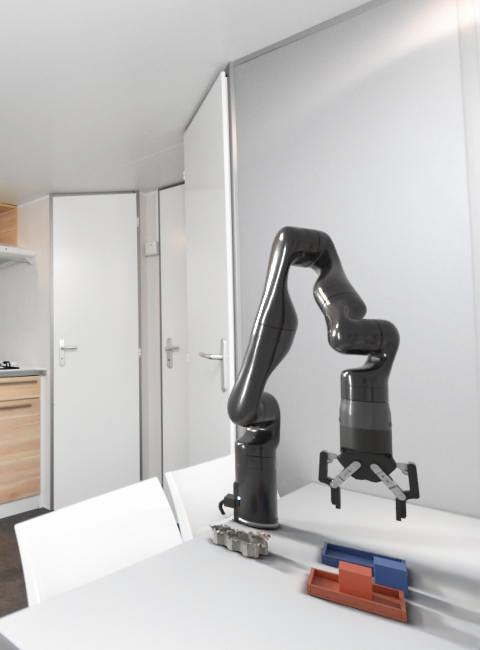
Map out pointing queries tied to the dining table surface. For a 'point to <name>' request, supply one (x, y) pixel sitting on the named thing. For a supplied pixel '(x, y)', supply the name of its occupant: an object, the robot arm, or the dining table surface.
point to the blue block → (391, 574)
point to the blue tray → (351, 556)
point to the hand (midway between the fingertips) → (367, 513)
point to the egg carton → (241, 540)
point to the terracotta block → (355, 580)
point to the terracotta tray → (383, 597)
